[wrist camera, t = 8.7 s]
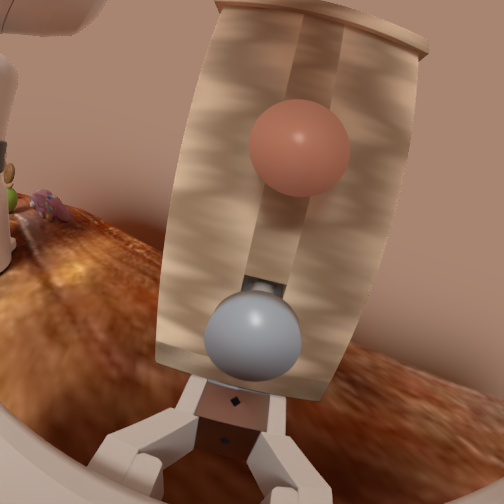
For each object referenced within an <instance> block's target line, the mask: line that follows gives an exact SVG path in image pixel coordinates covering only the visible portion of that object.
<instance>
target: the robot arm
mask: <svg viewBox="0 0 504 504" xmlns="http://www.w3.org/2000/svg"><path fill="white" fill-rule="evenodd" d="M106 1H107V0H0V34H2V33H9V34H22V35H32V36H40V37H49V36H72V35H74V34H76V33H78V32H79V31H81V30H83V29H84V28H85V27H87V26H88V25H89V24H90V23H91V22H92V21H93V20H94V19H95V18H96V17H97V16H98V15H99V13H100V12H101V11H102V9H103V7H104V6H105V3H106ZM17 85H18V75H17V71H16V69H15V67H14V65H13V64H12V62H11V61H10V60H9V59H8V58H7V57H5V56H4V55H3V54H1V53H0V272H2V271H3V270H4V269H5V268H6V267H7V266H8V265H9V263H10V261H11V252H12V251H13V250H14V249H15V248H16V239H15V238H13V237H10V226H9V211H8V190H7V187H6V186H5V185H4V183H3V181H2V178H1V173H2V172H3V171H4V165H5V159H6V147H7V143H6V142H4V141H5V136H6V130H7V125H8V121H9V116H10V112H11V108H12V104H13V100H14V96H15V93H16V90H17ZM285 432H286V398H285V397H283V396H278V395H272V394H266V393H261V392H257V391H252V390H247V389H243V388H239V387H234V386H231V385H227V384H224V383H220V382H217V381H214V380H210V379H206V378H203V377H200V376H197V375H194V374H192V375H191V376H190V378H189V380H188V382H187V384H186V387H185V389H184V391H183V393H182V395H181V397H180V399H179V401H178V404H177V406H176V408H175V409H174V408H168V409H166V410H164V411H162V412H160V413H158V414H155V415H153V416H151V417H149V418H147V419H144V420H142V421H140V422H137V423H135V424H133V425H130V426H128V427H126V428H123V429H121V430H118V431H116V432H113V433H111V434H108V435H107V436H106V438H105V439H104V441H103V443H102V444H101V446H100V447H99V449H98V450H97V452H96V453H95V455H94V456H93V458H92V459H91V461H90V463H89V464H88V466H87V467H86V466H84V465H82V464H81V463H79V462H77V461H76V460H74V459H72V458H71V457H69V456H68V455H66V454H65V453H63V452H62V451H60V450H59V449H57V448H56V447H54V446H53V445H51V444H50V443H49V442H47V441H46V440H45V439H43V438H42V437H41V436H39V435H38V434H37V433H35V432H34V431H33V430H32V429H30V428H29V427H28V426H27V425H25V424H24V423H23V422H22V421H21V420H19V419H18V418H17V417H16V416H15V415H14V414H13V413H12V412H10V411H9V410H8V409H7V408H6V407H5V406H4V405H3V404H2V403H1V402H0V504H168V503H165V502H162V501H161V500H162V497H163V494H164V484H163V470H164V469H165V468H167V467H168V466H170V465H171V464H173V463H174V462H176V461H177V460H179V459H180V458H182V457H183V456H185V455H186V454H187V453H189V452H190V451H192V450H193V448H196V449H200V450H203V451H207V452H212V453H216V454H220V455H224V456H228V457H232V458H236V459H241V460H245V461H247V464H248V466H249V468H250V470H251V472H252V474H253V476H254V478H255V480H256V482H257V484H258V486H259V488H260V490H261V492H262V494H263V496H264V499H263V500H262V501H261V502H260V504H333V502H332V488H331V487H330V486H329V485H328V484H327V483H326V481H325V480H324V479H323V478H322V477H321V475H320V474H319V473H318V472H317V470H316V469H315V468H314V467H313V465H312V464H311V463H310V462H309V460H308V459H307V458H306V457H305V455H304V454H303V453H302V451H301V450H300V449H299V448H298V446H297V445H296V444H295V442H294V441H293V440H292V438H291V437H290V436H285ZM444 504H504V477H502V478H500V479H499V480H497V481H495V482H493V483H491V484H489V485H487V486H485V487H483V488H481V489H478V490H476V491H474V492H472V493H469V494H467V495H465V496H462V497H460V498H457V499H455V500H452V501H449V502H447V503H444Z"/></svg>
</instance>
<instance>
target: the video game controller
mask: <svg viewBox="0 0 504 504" xmlns="http://www.w3.org/2000/svg"><path fill="white" fill-rule="evenodd" d="M29 201H30V206H31V207H32V208H34V209H35V210H36V212H37V213H38V215H39V216H40V218H44V217H45V216H46V218H47V220H49V221H52V220H53V219H54V218H55V217H56V218H58V219H59V220H61V221H63V222H68V221H69V220H70V218H71V213H70V211H69V210H68V209H67V208H66V207H65V206H64V205H63V204H62V202H61V201H60V199H59V198H58V197H57V196H56V195H55V194H52V193H51V192H50V191H48V190H38V191H37V192H35V193H33V194H32V195H31V196H30V197H29Z"/></svg>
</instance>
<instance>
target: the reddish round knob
mask: <svg viewBox="0 0 504 504" xmlns="http://www.w3.org/2000/svg"><path fill="white" fill-rule="evenodd" d="M249 154H250V158H251V162H252V164H253V167H254V169H255V170H256V172H257V174H258V175H259V176H260V178H261V179H262V180H263V181H264V182H265V183H266V184H267V185H269V186H270V187H271V188H273V189H274V190H276V191H278V192H280V193H282V194H285V195H289V196H294V197H310V196H315V195H318V194H321V193H323V192H325V191H327V190H328V189H330V188H331V187H333V186H334V185H335V184H336V183H337V182H338V181H339V180H340V179H341V177H342V176H343V174H344V173H345V171H346V168H347V166H348V163H349V158H350V142H349V138H348V134H347V132H346V129H345V128H344V126H343V124H342V123H341V121H340V120H339V119H338V117H337V116H336V115H335V114H334V113H333V112H331V111H330V110H329V109H327V108H326V107H324V106H322V105H320V104H318V103H316V102H313V101H309V100H302V99H293V100H286V101H282V102H279V103H277V104H275V105H273V106H271V107H270V108H268V109H267V110H266V111H265V112H263V113H262V114H261V115H260V117H259V118H258V119H257V121H256V122H255V124H254V126H253V128H252V131H251V134H250V139H249Z"/></svg>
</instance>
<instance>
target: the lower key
mask: <svg viewBox="0 0 504 504" xmlns="http://www.w3.org/2000/svg"><path fill="white" fill-rule="evenodd" d="M282 287H283V284H282V283H277V282H273V281H269V280H265V279H261V278H257V277H253V276H248V275H246V277H245V281H244V286H243V290H242V291H240V292H237V293H234V294H232V295H230V296H228V297H227V298H225V299H224V300H223V301H222V302H220V304H219V305H218V306H217V307H216V309H215V310H214V312H213V314H212V316H211V318H210V320H209V322H208V324H207V326H206V329H205V333H204V345H205V349H206V352H207V354H208V356H209V358H210V359H211V361H212V362H213V363H214V364H215V365H216V366H217V367H218V368H219V369H220V370H221V371H223V372H224V373H226V374H228V375H229V376H232V377H234V378H237V379H240V380H244V381H252V382H260V381H267V380H271V379H274V378H277V377H279V376H281V375H283V374H284V373H286V372H287V371H288V370H290V369H291V368H292V367H293V365H294V364H295V363H296V361H297V359H298V357H299V355H300V351H301V334H300V325H299V320H298V318H297V315H296V313H295V312H294V310H293V309H292V307H291V306H290V305H289V304H288V303H287V302H286V301H284V300H283V299H282V298H280V294H281V291H282Z"/></svg>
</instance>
